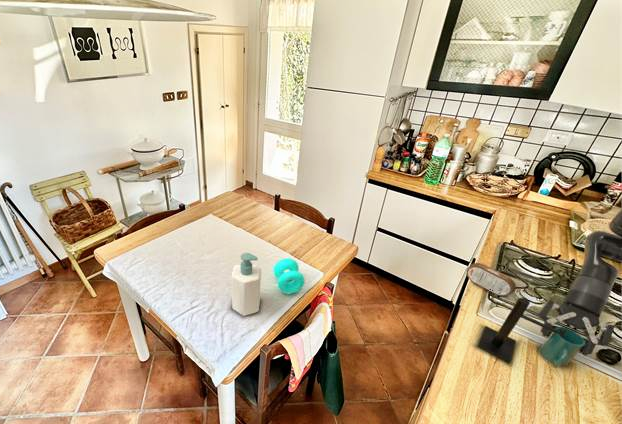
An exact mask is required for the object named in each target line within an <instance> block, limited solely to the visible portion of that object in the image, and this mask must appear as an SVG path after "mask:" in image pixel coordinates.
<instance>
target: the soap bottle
mask: <svg viewBox="0 0 622 424" xmlns="http://www.w3.org/2000/svg"><path fill="white" fill-rule="evenodd" d="M240 260H242V261H241V262H240V263H239V264H236V265H234V266H233V269H232V273H231V278H230V279H231V306H232V310H234V311H236V312H237V313H238V314H240V315H242V316H243V317H245V316H248V315H253V314H255V313H258V312H259V310H260V305H261V285H262V281H261V280H262V268H261V267H259V266H258V265H255V264H253V263H252V261H258V260H259V259H258V256H256V255H254V254H252V253H250V252H244V253H242V254H241V255H240Z"/></svg>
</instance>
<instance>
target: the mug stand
mask: <svg viewBox="0 0 622 424" xmlns="http://www.w3.org/2000/svg"><path fill="white" fill-rule="evenodd" d="M530 304H531V302H530V301H529V300H528V299H526V298H524V297H519V298H518V300H517V301H516V303H515V304H514V305H513V307H512V309H511V311H510V312H509V313H508V315H507V317H506V318H505V320H504V322H503V323H502V325H501V326H500V328H499V329H498V331H497V330H495V329H493V328H492V327H489V326H487V325H485V326H484V327H483V330H482V333H481V335H480V338H479V340H478V343H477V346H476V347H477V348H479V349H480V350H483V351H484V352H486V353H487V354H490V355H491V356H493V357H495V358H497V359H499V360H501V361H503V362H504V363H506V364H508V365H509V364H510V363H511V361H512V357H513V353H514V350H515V346H516V344H517V343H516V342H517V340H515V339H514V338H511V337H510V334H511V333H512V331H513V330H514V328H515V327H516V325H517V323H518V322H519V321H520V319H521V318H522V319H524V320H526V321H527V322H530V323H533V324H534V325H537V326H539V327H541V328H542V327H543V328H545V329H548V330H550V331H549V332H551V333H552V332H554V333H556V334H559V335H561V336H564V335H565V333H566V331H565V330H562V331H559V330H557V329H555V328H554V327H553V326H552V327H550V326H548V325H545V324H544V322H540V321H538V320H536V319H534V318H532V317H530V316H527V315H525V314H524V313H525V311H526V310H527V308H528V307H529V306H530Z"/></svg>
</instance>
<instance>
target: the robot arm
mask: <svg viewBox="0 0 622 424" xmlns="http://www.w3.org/2000/svg"><path fill="white" fill-rule="evenodd" d="M608 228H609V230H610V231H611V232H612V233H611V232H607V231H603V230H595V231H593V232H590V233H589V234H588V235H587V236H586V238H585V240H584V256H583V263H582V265H581V268H580V269H579V272H578V274H577V276H576V277H575V279H574V280H573V282H572V283H571V285H570V286H569V290H568V291H567V293H566V296H565V298H564V300H563V302H562V304H561V305H559V304H558V303H555V302H554V300H548V301H546V302H545V304H544V305H543V307H542V309H541V311H540V312H539V314H538V316H537V318H538V319H540V320H542V321H543V324H545V325H548V326H550V327H552V328H553V324H555V323H559V322H561V321H562V322H563V323H564V324H565V325H567V326H571V327H573V328H574V329H577V330H581V331H582V333H583V334H584V336H585V337H586V340H587V341H585V345H584V346H583V348H582V349H581V350H582V351H581V353H580V354H581V355H583V356H590V355H592V354H593V353H594V350H595V348H596V346H601V347H608V346H609V344H610V341H611V338H612V336H613V334H614V330H615V326H614V325H611V324H606V323H603V322H600V317H601V315H602V313H603V311H604V308H605V307H606V304H607V302H608V300H609V298H610V296H611V294H612V289H613V286H614V285H615V282H616V280H617V278H618V276H619V274H620V271H619V269H618V268H617V267H616V266H615V265H613V264H611V263H609V262H608V261H605V260H604V259H603V258H607V259H609V260H610V259H611V260H614V261H617V262H620V263H622V208H621V209H620V210H619V211H618V212H617V213H616V215H615V216H614V217H613V218H612V219H611V221H610V222H609V224H608ZM602 257H603V258H602ZM555 309H557V312H558V314H559V315H557V316H554V317H551V318H550V317H548V314H549V313H550V311H553V310H555ZM597 326H598V327H599V330H600V331H601V334H600V337H599V339H597V336H596V333H595V330H594V329H593V328H594V327H597ZM550 332H551V331H550V330H548V329H545V328H543V327H541V329H540V333H541V335H542V336H543V337H545V338H546V337H547V336H548V335H549V333H550Z"/></svg>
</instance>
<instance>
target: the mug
mask: <svg viewBox="0 0 622 424" xmlns="http://www.w3.org/2000/svg"><path fill="white" fill-rule="evenodd" d="M554 329H557V330H559V331H562V330H565V331H566V333H565V335H564V336H561V335H559V334H556V333H554V332H552V331H551V333H550V334H549V336H548V338H546V340H545V341H544V343H543V344H542V345H541V346H540V349H539V351H540V353H541V355H542V356H543V357H544V358H545V360H548V361H549V362H551V363H552V364H553V365H552V366H553V368H555V369H558V368H559V367H560V366H563V367H564V366H567V365H568V364H570V362H572V360H573V359H574V358H575V357H576V356H577V355H578V353H579V352H580V351H581V350H583V348H584V346H585V344H586V340H585V339H584V337H583V336H581V334H579V333H577V332H576V331H575V330H573V329H571V328H568V327H564V326H557V327H555V328H554Z"/></svg>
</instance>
